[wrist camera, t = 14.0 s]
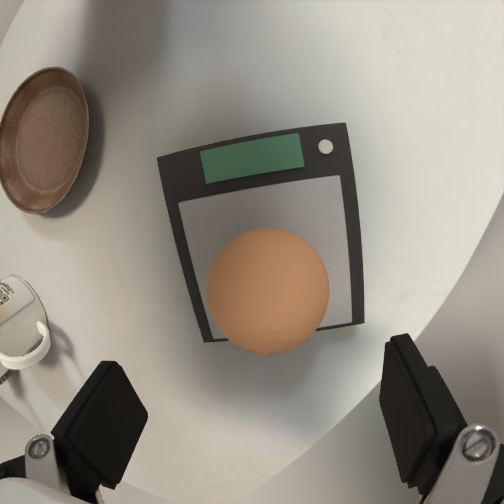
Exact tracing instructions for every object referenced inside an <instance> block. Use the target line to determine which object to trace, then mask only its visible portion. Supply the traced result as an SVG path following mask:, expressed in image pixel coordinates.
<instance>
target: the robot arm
mask: <svg viewBox="0 0 504 504" xmlns="http://www.w3.org/2000/svg"><path fill="white" fill-rule="evenodd" d="M379 401H380V406H381V410H382V413H383V416H384V420H385V423H386V426H387V430H388V433H389V437H390V440H391V444H392V447H393V451H394V455H395V458H396V462H397V466H398V470H399V473H400V478H401V481H402V482H403V483H405V482H407V484H408V488H409V489H410V488H413V487H416V486H417V487H418V491H419V494H421V497H420V498H419V500H418V502H417V503H416V504H504V445H503V444H500V438H499V435H498V433H497V432H496V430H495V429H493V428H492V427H491V426H488V425H486V424H473V425H470V426H468V425H467V423H466V421H465V419H464V417H463V416H462V414H461V412H460V410H459V408H458V406H457V404H456V402H455V401H454V399H453V397H452V395H451V393H450V391H449V389H448V387H447V386H446V384H445V382H444V380H443V378H442V377H441V375H440V373H439V372H438V370H437V369H436V367H434V366H430V367H428V366H427V364H426V363H425V361H424V359H423V357H422V356H421V354H420V352H419V351H418V349H417V347H416V345H415V344H414V342H413V340H412V339H411V337H410V335H409V334H408V333H405V334H401V335H397V336H392V337H391V338H390V342H386V344H385V352H384V363H383V372H382V380H381V389H380V396H379ZM147 419H148V413H147V411H146V409H145V407H144V406H143V404H142V402H141V401H140V399H139V397H138V395H137V394H136V392H135V390H134V388H133V387H132V385H131V383H130V381H129V379H128V377H127V376H126V374H125V372H124V370H123V368H122V367H121V366H120V365H119V364H118V363H117V362H116V361H101V362H100V363H99V365H98V366H97V367H96V369H95V370H94V371H93V373H92V374H91V376H90V377H89V378H88V380H87V381H86V382H85V384H84V385H83V387H82V388H81V389H80V391H79V392H78V394H77V395H76V396H75V398H74V399H73V401H72V402H71V403H70V405H69V406H68V408H67V409H66V411H65V412H64V413H63V415H62V416H61V418H60V419H59V421H58V422H57V424H56V425H55V427H54V428H53V430H52V431H51V434H52V435H53V436H54V437H55V438H54V440H52V438H51V437H50V436H48V435H45V434H41V435H37V436H35V437H33V438H32V439H31V440H30V441H29V442H28V443H27V445H26V448H25V455H23V456H20V457H17V458H14V459H12V460H9V461H6V462H3V463H1V464H0V504H104V501H103V498H102V495H101V492H100V490H99V485H100V484H101V485H102V486H104V487H107V488H110V489H113V490H114V489H115V487H116V485H117V484H119V483H120V481H121V479H122V477H123V474H124V472H125V470H126V467H127V465H128V463H129V461H130V458H131V456H132V454H133V451H134V449H135V447H136V444H137V442H138V440H139V438H140V435H141V433H142V431H143V429H144V426H145V424H146V422H147Z"/></svg>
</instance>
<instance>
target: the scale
mask: <svg viewBox="0 0 504 504" xmlns="http://www.w3.org/2000/svg"><path fill="white" fill-rule="evenodd" d="M157 162H158V167H159V172H160V177H161V182H162V187H163V191H164V196H165V201H166V205H167V209H168V214H169V218H170V222H171V226H172V231H173V235H174V239H175V243H176V247H177V251H178V254H179V258H180V262H181V266H182V270H183V273H184V277H185V281H186V284H187V288H188V291H189V295H190V298H191V302H192V305H193V309H194V312H195V315H196V319H197V322H198V325H199V328H200V332H201V335H202V338H203V341H204V343H205V342H220V341H230V340H228V339H227V338H226V337H225V336H224V335H223V334H222V332H221V331H220V330H219V328H218V327H217V325H216V323H215V321H214V319H213V318H212V316H211V314H210V311H209V307H208V303H207V282H208V275H209V272H210V270H211V267H212V265H213V263H214V260H215V259H216V257H217V256H218V254H219V253H220V252H221V250H222V249H223V247H224V246H226V245H227V244H228V243H229V242H231V241H232V240H233V239H234V238H236V237H237V236H238V235H241V234H243V233H245V232H247V231H250V230H254V229H258V228H278V229H282V230H286V231H290V232H293V233H294V234H296V235H298V236H300V237H301V238H303V239H305V240H306V241H307V242H308V243H309V244H310V245H311V246H312V247H313V248H314V249H315V251H316V252H317V253H318V254H319V256H320V257H321V259H322V261H323V263H324V266H325V268H326V270H327V275H328V279H329V291H330V296H329V301H328V307H327V310H326V313H325V316H324V318H323V320H322V322H321V323H320V325H319V326H318V328H317V329H316V330H315V331H320V330H327V329H333V328H339V327H346V326H351V325H357V324H363V323H364V279H363V259H362V244H361V231H360V220H359V210H358V201H357V192H356V184H355V177H354V170H353V163H352V156H351V150H350V144H349V138H348V132H347V127H346V123H335V124H326V125H317V126H309V127H301V128H294V129H287V130H281V131H274V132H268V133H263V134H257V135H252V136H246V137H241V138H236V139H231V140H226V141H222V142H217V143H213V144H208V145H204V146H200V147H196V148H191V149H187V150H183V151H180V152H176V153H172V154H168V155H165V156H161V157H158V158H157Z"/></svg>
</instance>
